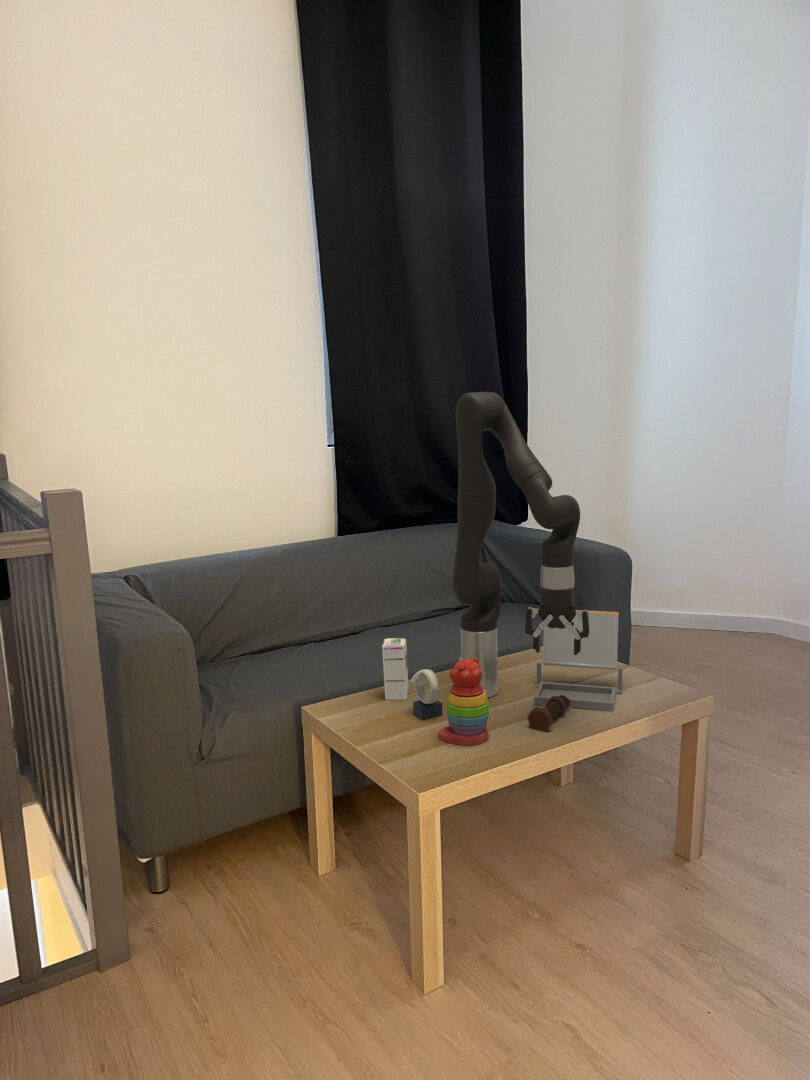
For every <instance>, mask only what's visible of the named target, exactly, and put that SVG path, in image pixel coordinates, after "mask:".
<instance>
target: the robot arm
mask: <svg viewBox="0 0 810 1080" xmlns="http://www.w3.org/2000/svg"><path fill="white" fill-rule="evenodd" d="M455 427H456V428H455V429H456V438H457V439H456V440H457V452H458V453H457V455H458V456H457V457H458V459H457V460H458V462H457V464H458V465H457V466H458V467H457V468H458V483H457V486H458V487H457V525H456V526H457V531H456V533H457V534H456V549H455V554H454V555H455V557H454V564H453V565H454V566H453V572H452V588H453V589H452V590H453V593H454V595H455V597H456V598H457V600H458V601H459V602H460V603H462V604H464V605H469V607H468V608H467V609H466V610H465V612H463V613H462V614H461V616H460V619H459V620H460V621H459V622H460V623H459V625H460V627H459V628H460V630H459V631H460V656H459V658H458V662H459V661H461V660H472V659H473V658H476V659H477V660H478V665H479V666H480V667H481V670H482V678H481V681H480V685H481V686H482V687H483V689H484V690H485V692H486V695H487V699H488V698H491V697H494V696H496V695H497V694H498V693H499V679H498V678H499V671H498V670H499V667H498V666H499V665H498V662H499V661H498V621H499V618H500V616H501V604H502V602H501V601H502V581H501V577H500V573H499V571H498V569H497V568H496V567H495V565H494V564H492V563H490V562H480V561H481V552H482V546H483V544H484V541H485V539H486V537H487V535H488V533H489V530H490V528H491V527H492V524H493V521H494V518H495V515H496V507H497V503H496V502H497V487H496V485H497V484H496V482H495V479H494V477H493V474H492V472H491V470H490V468H489V466H488V464H487V461H486V460H485V457H484V450H483V435H484V434H483V432H488V431H490V433H491V434H493V435H494V436H495V437H496V439H497V440H498V441H499V442H500V444H501V446H502V448H503V451H504V457H505V464H506V467H507V471H508V472H509V474H510V476H511V478H512V479H513V480H514V482H515V483H516V485H517V486H518V487H519V489H520V490H521V492H523V494H524V496H525V498H526V502H527V504H528V507H529V510H530V513H531V514H532V517H533V519H534V520H535V522H536V523H537V524H538V525H539V526H540V527H542V528H543V529H546V530H551V534H550V535H549V536H548V537H546V539H544V540H543V541H542V543H541V564H540V565H541V568H540V574H539V575H540V576H539V577H540V579H539V580H540V581H539V584H540V587H539V588H540V601H539V602H540V606H539V608H535V607H533V606H530V605H529V606H528V607H527V609H526V611H525V626H524V629H525V630H524V633H525V634H526V635H531V636H532V641H533V642H532V643H533V644H532V649H533V650H534V651H535V652H536V653H538V654H539V653H540V652H541V633H542V632H544V628H545V627H546V626H548V627H550V628H559V629H564V628H567V629H568V630H569V632H570V633H572V635H573V636H574V637H575V638H574V655H577V654H578V653H580V650H581V639H582V638H584V637H585V638H587V637H588V636H589V615H588V611H589V610H588V609H587V608H585V609H583V611H576V610H577V609H576V608H575V583H576V580H575V571H574V545H575V542H576V538H577V534H578V531H579V526H580V522H581V510H580V505H579V503H578V501H577V499H576V497H574V496H571V495H569V494H562V495H557V496H553V495H551V493H550V490H551V489H552V487H553V478H552V476H550V475H551V474H549V473H548V471H547V470H546V469H545V468H544V466H543V465H542V463H541V462H540V461H539V459H538V458H537V456H536V455H535V454H534V453H533V451H532V449H531V448H530V447H529V445H528V443H527V441H526V440H525V438H524V437H523V435H522V433H521V430H520V429H519V428H520V427H519V426H518V425H517V423H516V421H515V419H514V417H513V415H512V414H511V411H510V410H509V407H508V405H507V404H506V402H505V401H504V399H503V398H502V396H501V395H499V394H498V393H495V392H494V391H480V392H478V391H475V392H466V393H464V394H462V395H461V396H460V398H459V399H458V400H457V403H456V408H455ZM537 614H538V615H539V617H540V618H541V620H542V621H541V622H540V623H539V625H538V626H537V627H536V628H534V627H533V619H534V618H535V617H536V615H537ZM575 616H578V617H579V619H580V620H582V624H583V631H581V632H580V631H579V630H578V628H577V627H576V625H575V623H574V622H573V621H572V620H573V619H574V617H575Z"/></svg>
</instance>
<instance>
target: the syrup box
mask: <svg viewBox="0 0 810 1080" xmlns="http://www.w3.org/2000/svg"><path fill="white" fill-rule="evenodd" d="M381 647H382V668H383V689H384V698H385V699H384V700H386V701H388V700H390V701H399V700H401V701H404V700H408V696H409V692H410V689H409V687H410V686H409V670H408V651H407V648H408V647H407V638H404V637H392V638H391V637H390V638H384V640H383V641H382V645H381Z"/></svg>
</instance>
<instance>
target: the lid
mask: <svg viewBox="0 0 810 1080" xmlns="http://www.w3.org/2000/svg"><path fill="white" fill-rule="evenodd" d="M575 610H576V611H583V610H584V609H583V610H580V609H575ZM588 615H589V636H588V637H587V638H585V637H584V638H582V639H581V650H580V653H578V654H577V655H574V638H575V637H574V636H573V635H572V633H570V632H569V630H568V629H567V628H564V629H559V628H550V627H548V626H546V627H545V628H544V630H543V636H542V637H543V638H542V639H543V640H542V641H543V643H542V664H543V666H553V667H554V666H556V667H569V668H572V667H573V668H581V669H582V668H584V669H598V670H613V671H614V670H617V669H618V648H619V643H618V642H619V619H620V618H619V617H620V616H619V615H620V614H619V611H604V610H602V611H600V610H588ZM572 621H573V622H574V623H575V625H576V627H577V628H578V630H579V631H580V632H581V631H583V624H582V620H580V619H579V617H578V616H575V617H574V619H573V620H572Z"/></svg>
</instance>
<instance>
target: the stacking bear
mask: <svg viewBox="0 0 810 1080" xmlns="http://www.w3.org/2000/svg"><path fill="white" fill-rule="evenodd" d="M448 674H449V677H450V681H451V682H452V683H453V685H452V686H451V687H450V689H449V690H450V691H449V692H448V699H447V702H446V715H447V720H448V726H445V727H443V728H441V729H440V730H439V731H438V734H437V737H438V739H439V740H440V741H443V742H447V743H450V744H455V745H461V746H474V745H479V744H482V743H484V742H486V741H487V740H489V736H490V734H489V731H488V729H487V726H488V725H487V724H488V720H489V715H490V706H489V705H490V704H489V700H488V698H487V695H486V692H485V690H484V689H483V687H482V686H481V685H480V681H481V678H482V670H481V667H480V666H479V665H478V660H477V659H476V658H473V659H472V660H461V661H459V660H458V661H457V662H456V663H455V664H454V666H453V667H452V668H451V669H450V670H449V673H448Z"/></svg>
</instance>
